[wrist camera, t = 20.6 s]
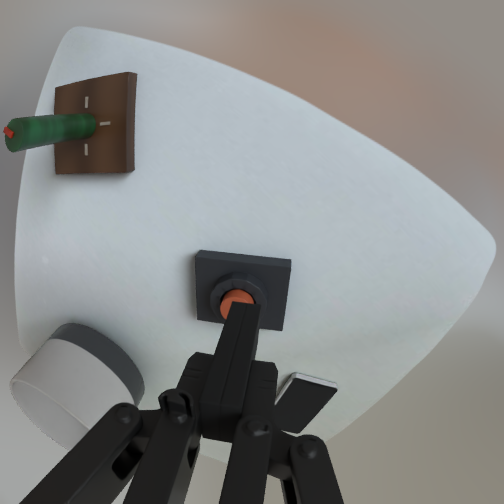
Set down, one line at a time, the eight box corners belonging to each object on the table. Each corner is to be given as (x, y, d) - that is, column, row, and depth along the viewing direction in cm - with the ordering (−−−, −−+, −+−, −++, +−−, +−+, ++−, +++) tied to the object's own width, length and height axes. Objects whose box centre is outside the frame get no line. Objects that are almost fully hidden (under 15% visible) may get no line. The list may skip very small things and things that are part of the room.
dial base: (137, 73, 29) (128, 71, 27) (134, 170, 33) (126, 172, 32) (64, 88, 30) (54, 87, 28) (64, 171, 35) (54, 174, 33)
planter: (69, 292, 43) (3, 356, 27) (165, 357, 45) (121, 444, 29) (60, 354, 51) (14, 410, 34) (136, 405, 53) (102, 471, 36)
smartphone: (258, 424, 48) (292, 376, 41) (259, 419, 49) (292, 370, 42) (299, 434, 48) (339, 389, 41) (299, 429, 49) (339, 383, 43)
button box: (291, 259, 35) (290, 275, 32) (283, 321, 39) (281, 340, 35) (200, 249, 36) (190, 263, 33) (201, 310, 40) (193, 328, 36)
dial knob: (100, 119, 29) (24, 126, 18) (89, 142, 31) (15, 158, 19) (83, 109, 29) (8, 113, 18) (73, 131, 30) (-1, 144, 19)
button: (255, 291, 34) (253, 299, 32) (253, 317, 35) (251, 325, 33) (223, 287, 34) (219, 295, 32) (223, 313, 35) (219, 321, 34)
